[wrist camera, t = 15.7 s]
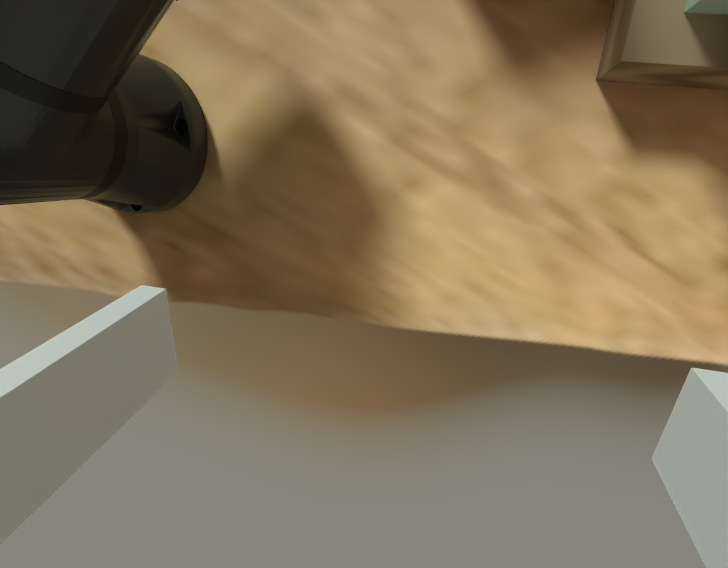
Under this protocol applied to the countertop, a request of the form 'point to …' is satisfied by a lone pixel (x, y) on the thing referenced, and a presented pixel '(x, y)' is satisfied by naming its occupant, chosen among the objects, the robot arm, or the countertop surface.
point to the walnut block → (665, 45)
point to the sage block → (707, 6)
